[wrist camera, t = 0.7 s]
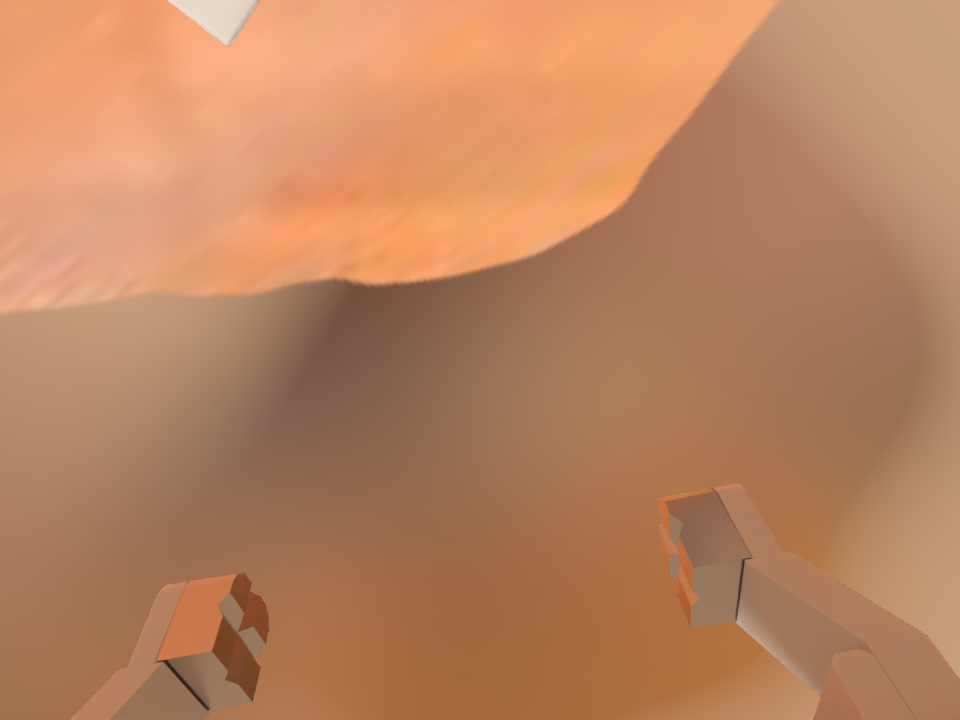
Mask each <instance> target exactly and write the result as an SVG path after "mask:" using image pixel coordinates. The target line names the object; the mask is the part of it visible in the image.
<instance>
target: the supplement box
mask: <svg viewBox="0 0 960 720" xmlns="http://www.w3.org/2000/svg"><path fill="white" fill-rule="evenodd" d="M168 1H169V2H170V3H172V4H173V5H174V6H175V7H177V8H178V9H179V10H181V11H182V12H183V13H184V14H186V15H187V16H188V17H190V18H191V19H192V20H193V21H195V22H196V23H197V24H199V25H200V26H201V27H202V28H204V29H205V30H206V31H208V32H209V33H210V34H211V35H213V36H214V37H215V38H217V39H218V40H219V41H220V42H222V43H223V44H224V45H226V46H230V45H231V44H232V43H233V42H234V40H235V39H236V37H237V35H238V34H239V32H240V31H241V29H242V28H243V26H244V25H245V23H246V21H247V20H248V18H249V17H250V15H251V14H252V12H253V11H254V9H255V8H256V6H257V4H258V3H259V1H260V0H168Z"/></svg>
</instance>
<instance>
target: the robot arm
mask: <svg viewBox="0 0 960 720" xmlns="http://www.w3.org/2000/svg"><path fill="white" fill-rule="evenodd" d="M658 511H659V514H660V516H661V519H662V522H661V524H660V525H659V526H658V533H659V542H660V547H661V552H662V555H663V559H664V562H665V565H666V568H667V570H668V573H669V575H671V576H672V577H673V578H675V579H676V580H677V581H678V587H677V588H678V590H677V591H678V592H677V596H678V598H679V601H680V603H681V605H682V608H683V611H684V613H685V615H686V618H687V620H688V623H689V625H690V628H691V627H698V626H705V625H712V624H719V623H726V622H733V621H737V624H738V625H739V626H740V627H741V628H742V629H744V630H745V631H746V632H747V633H748V634H749V635H751V636H752V637H753V638H754V639H755V640H756V641H757V642H759V643H760V644H761V645H762V646H763V647H764V648H765V649H766V650H768V651H769V652H770V653H771V654H772V655H773V656H775V657H776V658H777V659H778V660H779V661H780V662H781V663H782V664H784V665H785V666H786V667H787V668H788V669H789V670H790V671H792V672H793V673H794V674H795V675H796V676H797V677H798V678H800V679H801V680H802V681H803V682H804V683H805V684H807V685H808V686H809V687H810V688H811V689H812V690H813V691H814V692H816V693H817V694H818V695H819V696H820V700H819V704H818V707H817V710H816V713H815V716H814V719H813V720H960V679H959V678H958V676H957V675H956V674H955V672H954V671H953V670H952V668H951V667H950V666H949V664H948V663H947V662H946V660H945V659H944V657H943V656H942V654H941V653H940V652H939V650H938V649H937V648H936V646H935V645H934V644H933V642H932V641H931V640H930V638H929V637H928V635H926V634H924V633H923V632H921V631H919V630H918V629H916V628H915V627H913V626H911V625H909V624H908V623H906V622H905V621H903V620H901V619H900V618H898V617H897V616H895V615H893V614H892V613H890V612H889V611H887V610H885V609H884V608H882V607H880V606H878V605H877V604H875V603H874V602H872V601H871V600H869V599H867V598H865V597H864V596H862V595H861V594H859V593H858V592H856V591H854V590H853V589H851V588H849V587H848V586H846V585H845V584H843V583H841V582H840V581H838V580H836V579H835V578H833V577H832V576H830V575H828V574H827V573H825V572H823V571H822V570H820V569H819V568H817V567H815V566H813V565H812V564H810V563H809V562H807V561H806V560H804V559H802V558H801V557H799V556H797V555H796V554H794V553H793V552H788V553H783V551H782V550H781V548H780V546H779V545H778V543H777V541H776V540H775V538H774V537H773V535H772V533H771V532H770V530H769V528H768V527H767V525H766V523H765V522H764V520H763V518H762V517H761V515H760V513H759V512H758V510H757V509H756V507H755V505H754V504H753V502H752V500H751V499H750V497H749V495H748V494H747V492H746V490H745V489H744V487H743V486H741V485H740V484H738V483H737V484H731V485H726V486H720V487H715V488H706V489H701V490H696V491H691V492H685V493H681V494H675V495H670V496H665V497H660V499H659V501H658ZM251 585H252V582H251V581H250V580H249V578H248V577H247V575H246V574H245V573H240V574H233V575H226V576H220V577H213V578H206V579H200V580H193V581H187V582H182V583H176V584H169V585H165V586H164V587H163V588H162V590H161V591H160V592H159V593H158V595H157V597H156V600H155V602H154V605H153V607H152V610H151V612H150V614H149V617H148V619H147V621H146V624H145V626H144V629H143V631H142V633H141V636H140V638H139V641H138V643H137V646H136V648H135V651H134V653H133V655H132V658H131V660H130V662H129V665H128V667H127V668H123V669H119V670H118V672H116V674H115V675H114V676H113V677H112V678H111V679H110V680H109V681H108V682H107V683H106V684H105V685H104V686H103V687H102V688H101V689H100V690H99V691H98V692H97V693H96V694H95V695H94V696H93V697H92V698H91V699H90V700H89V701H88V702H87V703H86V704H85V705H84V706H83V707H82V708H81V709H80V710H79V711H78V712H77V713H76V714H75V715H74V716H73V717H72V718H71V720H206V718H207V717H208V716H209V712H208V711H213V710H218V709H223V708H228V707H233V706H238V705H243V704H248V703H252V702H253V699H254V695H255V690H256V686H257V681H258V677H259V673H260V668H261V667H260V665H259V663H258V661H257V660H256V658H255V657H256V656H257V655H258V654H259V653H260V651H261V650H262V649H263V648H264V646H265V645H266V641H267V637H268V632H269V616H268V611H267V608H266V604H265V603H264V601H263V599H262V598H261V596H259V595H256V594H254V593H252V592H250V588H251Z"/></svg>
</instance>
